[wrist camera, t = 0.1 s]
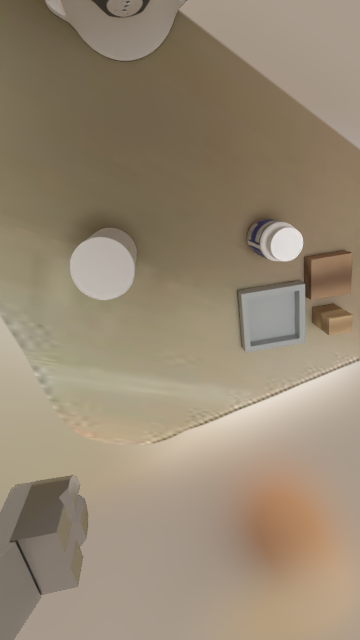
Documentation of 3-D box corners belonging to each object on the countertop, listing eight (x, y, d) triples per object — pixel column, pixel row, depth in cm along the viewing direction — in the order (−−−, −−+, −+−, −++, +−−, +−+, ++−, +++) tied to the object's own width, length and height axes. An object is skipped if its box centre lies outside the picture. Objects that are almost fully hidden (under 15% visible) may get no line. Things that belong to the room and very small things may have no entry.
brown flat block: (303, 256, 57) (311, 259, 54) (342, 250, 58) (352, 252, 55) (303, 294, 60) (311, 299, 57) (341, 288, 60) (350, 293, 57)
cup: (124, 286, 56) (118, 309, 45) (77, 264, 54) (60, 283, 43) (145, 242, 54) (145, 255, 42) (98, 218, 51) (85, 225, 40)
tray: (237, 290, 58) (241, 294, 56) (298, 280, 58) (305, 283, 56) (241, 346, 62) (245, 352, 60) (299, 336, 62) (305, 342, 60)
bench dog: (312, 307, 60) (329, 318, 55) (333, 303, 61) (352, 314, 55) (312, 322, 62) (328, 335, 56) (333, 318, 62) (351, 331, 56)
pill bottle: (283, 246, 56) (311, 256, 47) (251, 258, 56) (272, 272, 47) (275, 212, 54) (301, 216, 45) (241, 226, 54) (261, 233, 45)
